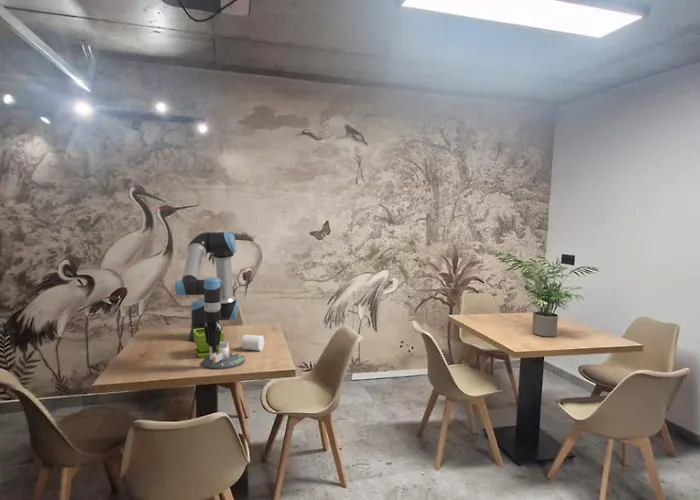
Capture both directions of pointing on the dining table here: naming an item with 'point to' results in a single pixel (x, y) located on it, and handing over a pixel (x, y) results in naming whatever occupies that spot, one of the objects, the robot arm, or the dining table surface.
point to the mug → (252, 342)
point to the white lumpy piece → (222, 352)
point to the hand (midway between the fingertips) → (212, 359)
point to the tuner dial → (225, 362)
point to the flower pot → (203, 342)
